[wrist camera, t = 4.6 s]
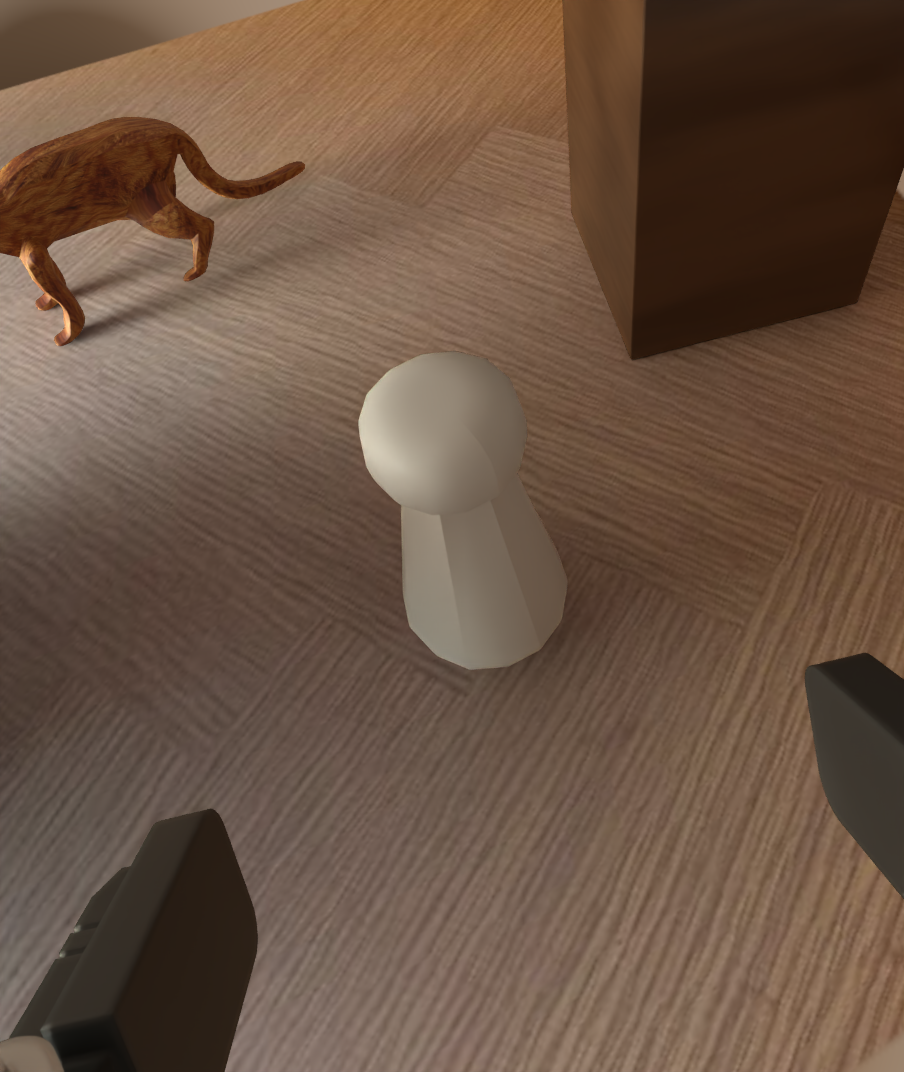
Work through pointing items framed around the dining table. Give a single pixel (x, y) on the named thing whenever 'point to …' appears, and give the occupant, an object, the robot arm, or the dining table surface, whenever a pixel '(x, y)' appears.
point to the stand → (731, 157)
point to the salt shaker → (463, 509)
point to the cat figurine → (108, 197)
